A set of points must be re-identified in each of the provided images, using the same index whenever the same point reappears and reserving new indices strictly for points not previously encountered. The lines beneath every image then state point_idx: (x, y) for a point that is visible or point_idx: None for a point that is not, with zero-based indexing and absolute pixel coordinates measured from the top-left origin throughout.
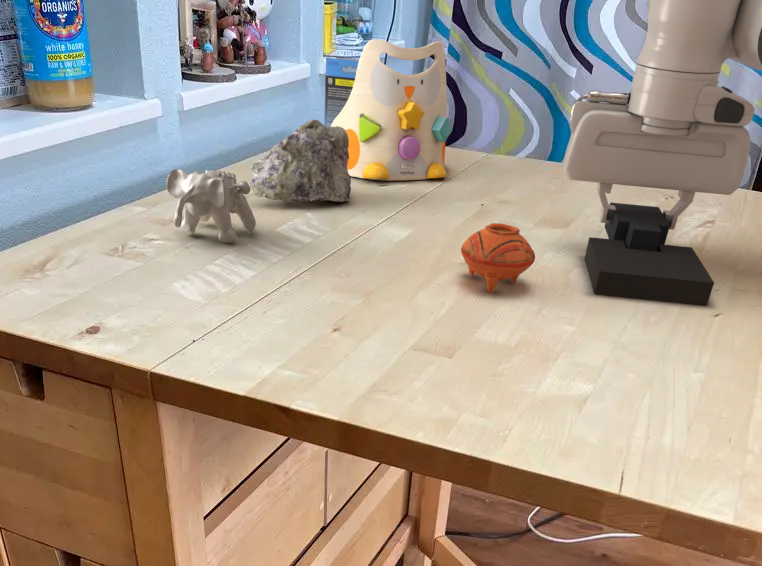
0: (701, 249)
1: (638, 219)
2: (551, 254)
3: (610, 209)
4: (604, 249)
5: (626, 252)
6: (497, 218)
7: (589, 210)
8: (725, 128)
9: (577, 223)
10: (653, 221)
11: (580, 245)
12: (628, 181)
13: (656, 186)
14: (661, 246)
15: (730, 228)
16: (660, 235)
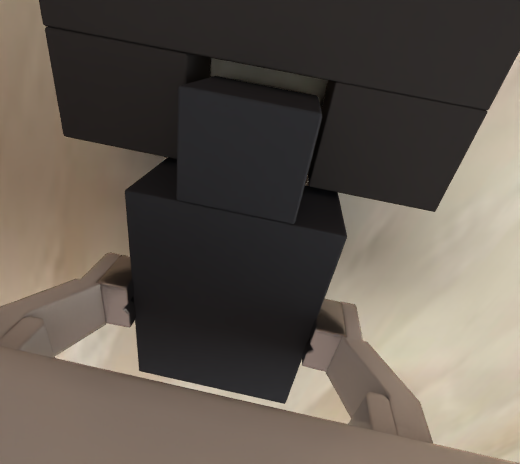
0: (59, 268)
1: (244, 257)
2: (508, 211)
3: (337, 333)
4: (459, 49)
5: (365, 10)
6: (489, 423)
7: None
8: None
9: (307, 396)
10: (186, 238)
11: (366, 282)
12: (309, 433)
13: (147, 384)
14: (175, 131)
15: None
16: (185, 84)
